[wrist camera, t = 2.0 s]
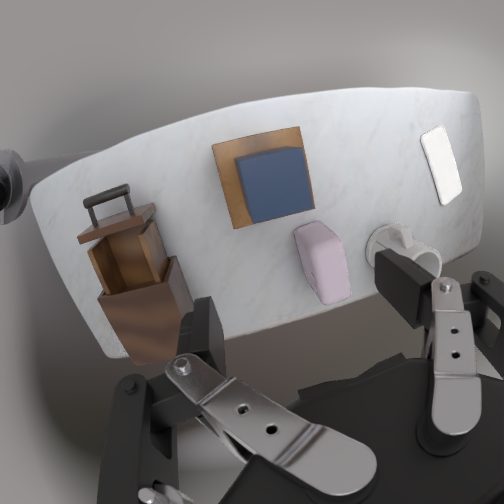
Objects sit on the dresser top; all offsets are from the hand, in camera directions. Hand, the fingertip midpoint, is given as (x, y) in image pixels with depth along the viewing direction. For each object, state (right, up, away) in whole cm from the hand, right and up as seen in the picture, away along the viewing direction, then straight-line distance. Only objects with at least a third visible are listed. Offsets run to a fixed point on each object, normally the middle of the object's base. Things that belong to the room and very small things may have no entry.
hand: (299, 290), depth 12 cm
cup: (+22, +3, +34) cm, 41 cm away
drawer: (-21, +4, +27) cm, 34 cm away
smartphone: (+35, +19, +30) cm, 49 cm away
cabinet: (-18, -6, +33) cm, 38 cm away
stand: (-3, +14, +26) cm, 30 cm away
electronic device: (+7, +2, +33) cm, 34 cm away
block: (-1, +8, +12) cm, 14 cm away
